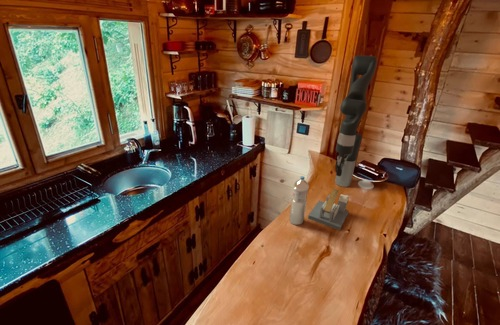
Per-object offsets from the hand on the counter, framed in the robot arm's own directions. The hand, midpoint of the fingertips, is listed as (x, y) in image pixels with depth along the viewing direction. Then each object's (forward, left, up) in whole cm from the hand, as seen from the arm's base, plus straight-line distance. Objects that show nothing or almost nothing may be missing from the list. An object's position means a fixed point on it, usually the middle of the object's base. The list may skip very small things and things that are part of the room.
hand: (338, 175), depth 135 cm
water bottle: (+18, -12, -22) cm, 31 cm away
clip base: (+5, 0, -22) cm, 22 cm away
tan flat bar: (+5, 0, -12) cm, 13 cm away
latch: (-1, +5, -14) cm, 14 cm away
